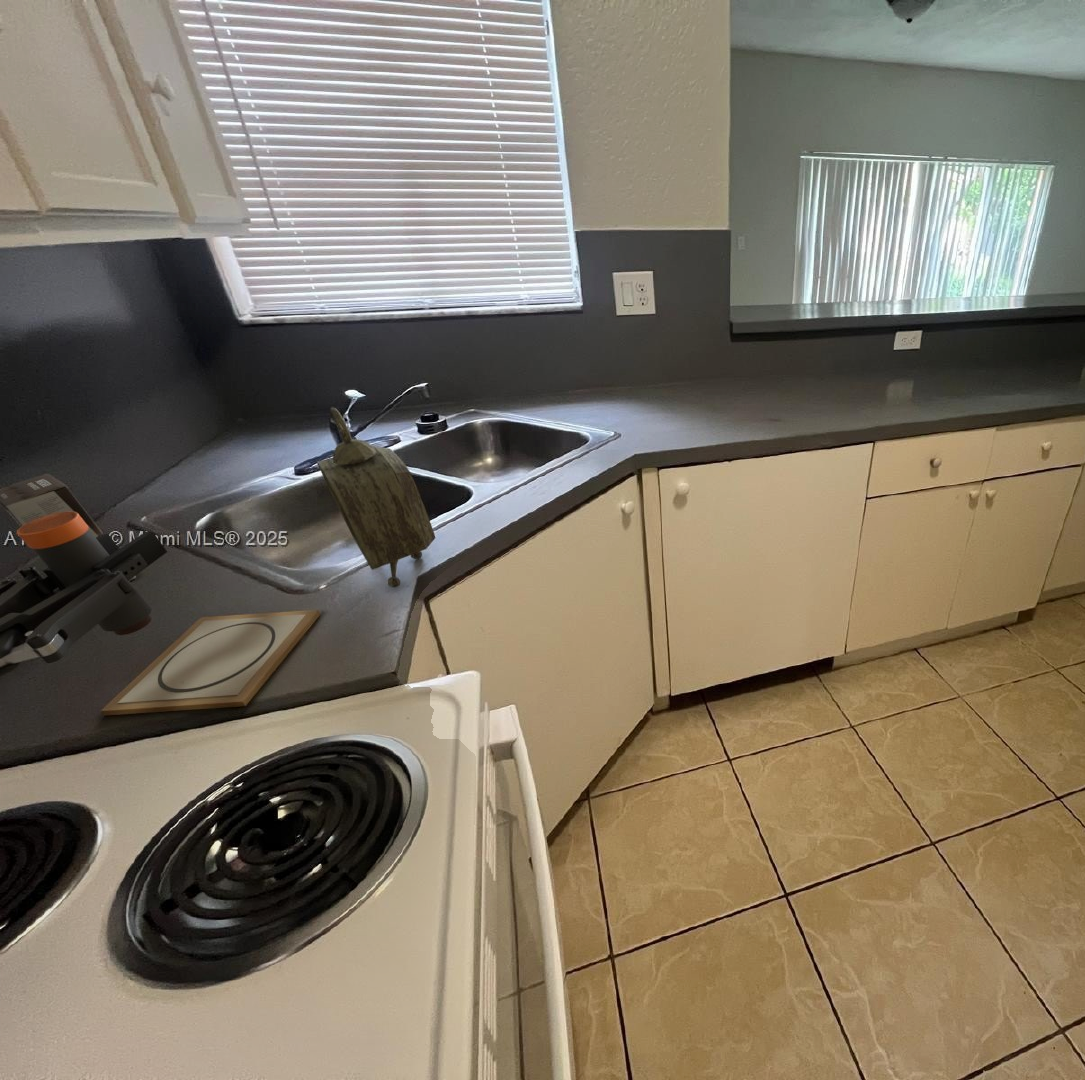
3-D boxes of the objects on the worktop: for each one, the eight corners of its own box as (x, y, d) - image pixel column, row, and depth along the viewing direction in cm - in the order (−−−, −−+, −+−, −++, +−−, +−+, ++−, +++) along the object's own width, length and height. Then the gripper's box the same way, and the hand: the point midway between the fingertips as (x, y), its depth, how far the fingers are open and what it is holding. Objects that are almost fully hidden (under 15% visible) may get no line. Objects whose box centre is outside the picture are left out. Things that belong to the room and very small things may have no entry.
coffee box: (139, 577, 87) (67, 485, 78) (84, 600, 83) (2, 506, 74) (119, 560, 92) (48, 471, 83) (66, 582, 87) (-14, 490, 78)
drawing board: (104, 715, 64) (98, 710, 64) (204, 621, 78) (200, 616, 77) (245, 706, 65) (241, 700, 64) (321, 613, 78) (318, 608, 77)
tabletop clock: (361, 556, 89) (288, 404, 76) (420, 534, 94) (361, 387, 80) (386, 598, 80) (307, 434, 66) (450, 571, 85) (389, 413, 71)
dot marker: (96, 640, 58) (2, 536, 51) (130, 613, 62) (46, 512, 55) (137, 638, 59) (49, 533, 51) (168, 611, 62) (90, 509, 55)
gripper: (-197, 759, 43) (78, 575, 63) (27, 745, 44) (232, 566, 63) (-299, 693, 39) (29, 518, 59) (-51, 677, 39) (194, 508, 59)
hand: (134, 543), depth 61 cm, fingers closed on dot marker, 4 cm apart
